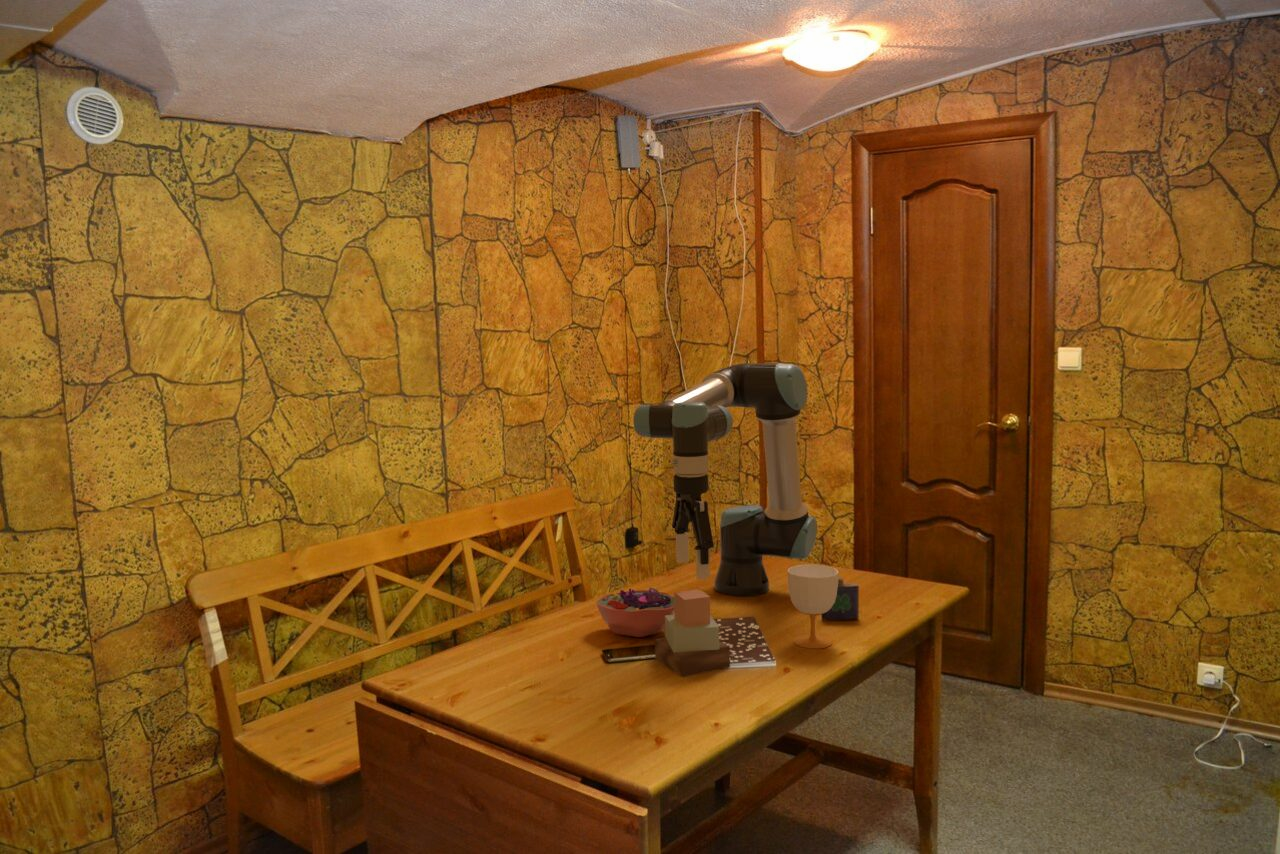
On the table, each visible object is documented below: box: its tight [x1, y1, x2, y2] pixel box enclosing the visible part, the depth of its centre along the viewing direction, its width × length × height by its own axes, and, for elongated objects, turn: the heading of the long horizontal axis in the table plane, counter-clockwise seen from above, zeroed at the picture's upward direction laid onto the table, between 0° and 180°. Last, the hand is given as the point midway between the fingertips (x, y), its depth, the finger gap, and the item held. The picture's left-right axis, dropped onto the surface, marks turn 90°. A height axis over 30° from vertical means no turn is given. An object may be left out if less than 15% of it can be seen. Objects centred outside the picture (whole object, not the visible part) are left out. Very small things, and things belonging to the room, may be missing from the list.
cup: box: [787, 563, 840, 650], centre depth 216 cm, size 12×12×17 cm
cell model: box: [595, 587, 674, 638], centre depth 224 cm, size 17×20×11 cm
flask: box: [820, 576, 860, 622], centre depth 232 cm, size 9×3×11 cm, turn 88°
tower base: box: [654, 637, 731, 678], centre depth 205 cm, size 12×12×5 cm
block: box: [673, 589, 711, 627], centre depth 203 cm, size 6×6×6 cm
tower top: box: [664, 614, 720, 653], centre depth 204 cm, size 10×10×5 cm
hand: (692, 570), depth 202 cm, fingers open, 13 cm apart
